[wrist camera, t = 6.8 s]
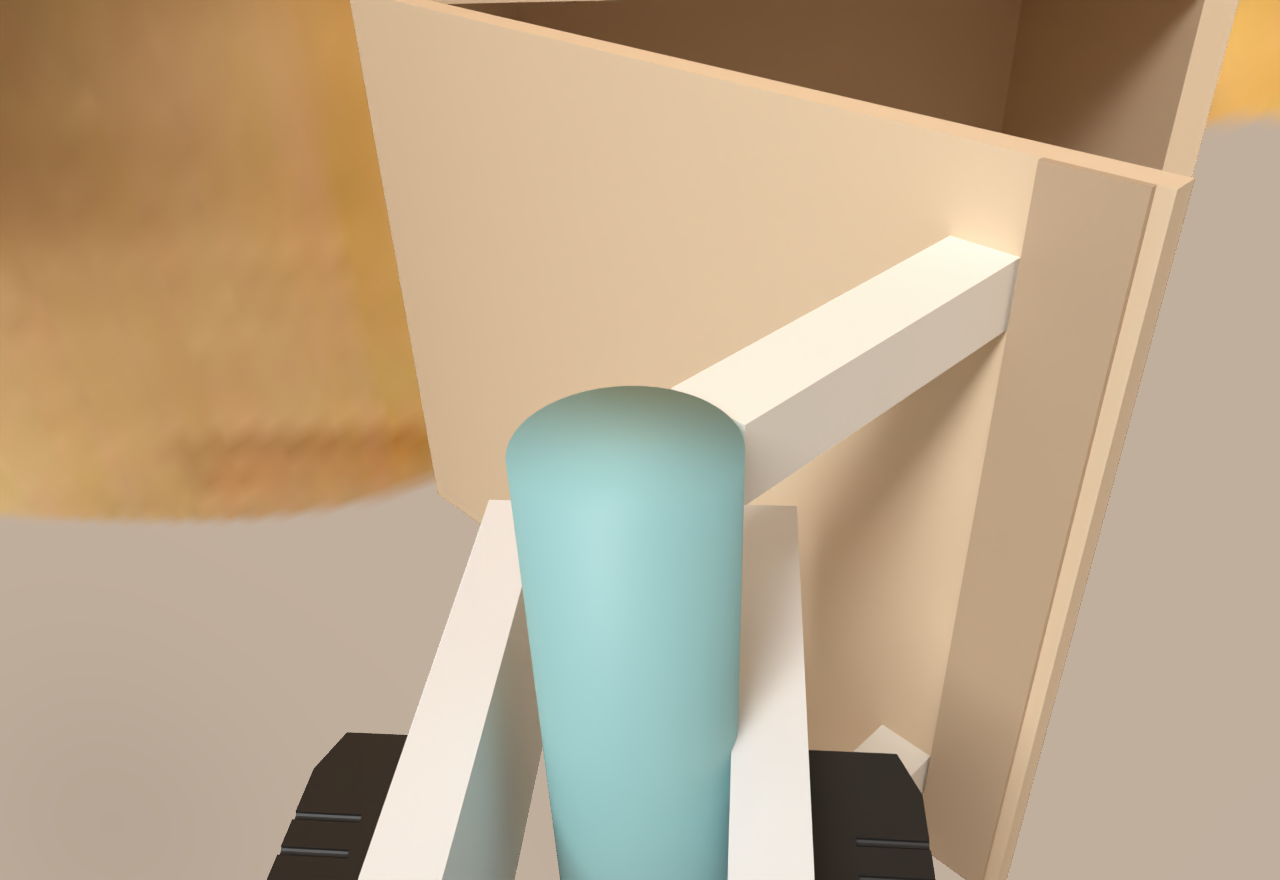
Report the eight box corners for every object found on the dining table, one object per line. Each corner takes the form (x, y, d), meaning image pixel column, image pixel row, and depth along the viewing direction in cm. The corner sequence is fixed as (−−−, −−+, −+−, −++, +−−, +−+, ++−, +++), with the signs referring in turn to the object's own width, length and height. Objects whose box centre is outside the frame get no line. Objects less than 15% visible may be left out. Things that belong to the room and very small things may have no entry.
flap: (451, 486, 26) (178, 631, 22) (366, -15, 20) (-40, 66, 16) (1007, 877, 17) (708, 1242, 13) (1195, 178, 10) (711, 490, 7)
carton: (528, 264, 37) (448, 487, 27) (488, -120, 30) (360, -29, 20) (994, 262, 36) (1107, 494, 25) (1060, -138, 29) (1252, -51, 19)
